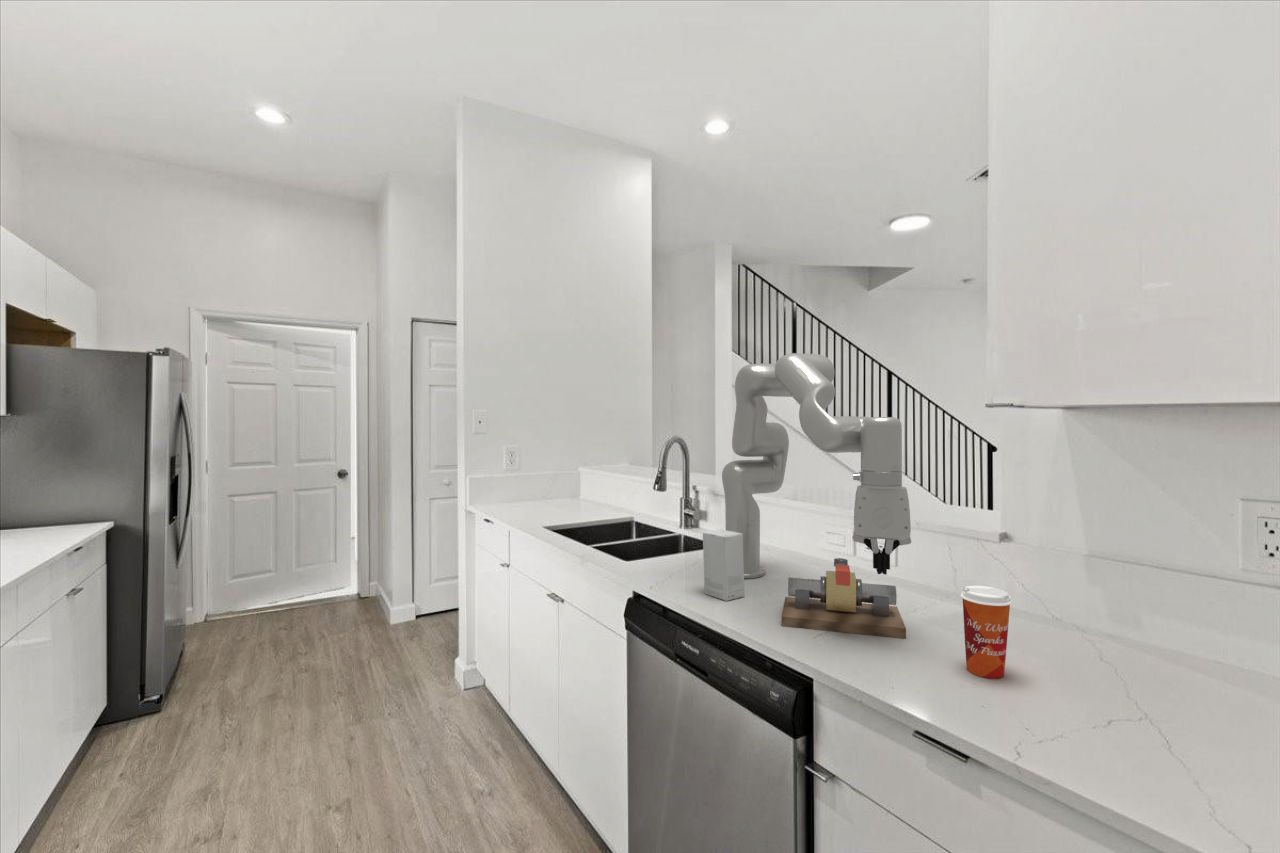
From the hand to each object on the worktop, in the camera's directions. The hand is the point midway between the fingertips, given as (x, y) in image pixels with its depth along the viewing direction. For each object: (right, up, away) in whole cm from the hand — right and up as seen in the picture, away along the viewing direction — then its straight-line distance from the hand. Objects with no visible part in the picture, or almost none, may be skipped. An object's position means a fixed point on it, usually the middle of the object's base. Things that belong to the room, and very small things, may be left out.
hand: (881, 572), depth 116 cm
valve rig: (-4, -13, +11) cm, 17 cm away
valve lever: (-6, -2, +7) cm, 9 cm away
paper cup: (+12, -14, -15) cm, 23 cm away
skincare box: (-27, -13, +29) cm, 41 cm away
